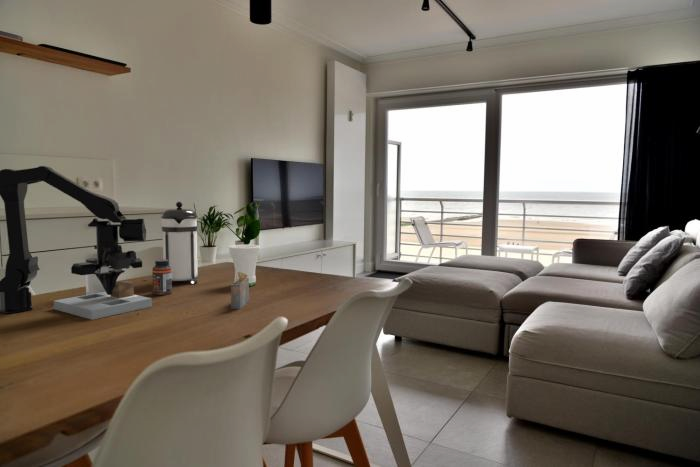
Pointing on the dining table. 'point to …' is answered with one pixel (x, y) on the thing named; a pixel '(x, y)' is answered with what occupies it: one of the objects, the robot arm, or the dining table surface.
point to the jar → (93, 281)
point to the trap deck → (101, 305)
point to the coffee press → (180, 242)
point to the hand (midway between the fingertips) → (109, 294)
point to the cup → (245, 260)
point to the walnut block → (123, 289)
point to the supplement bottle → (162, 278)
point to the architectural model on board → (240, 292)
